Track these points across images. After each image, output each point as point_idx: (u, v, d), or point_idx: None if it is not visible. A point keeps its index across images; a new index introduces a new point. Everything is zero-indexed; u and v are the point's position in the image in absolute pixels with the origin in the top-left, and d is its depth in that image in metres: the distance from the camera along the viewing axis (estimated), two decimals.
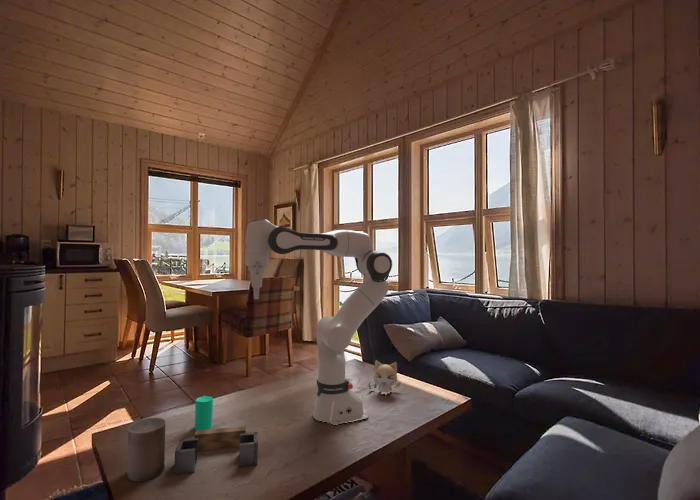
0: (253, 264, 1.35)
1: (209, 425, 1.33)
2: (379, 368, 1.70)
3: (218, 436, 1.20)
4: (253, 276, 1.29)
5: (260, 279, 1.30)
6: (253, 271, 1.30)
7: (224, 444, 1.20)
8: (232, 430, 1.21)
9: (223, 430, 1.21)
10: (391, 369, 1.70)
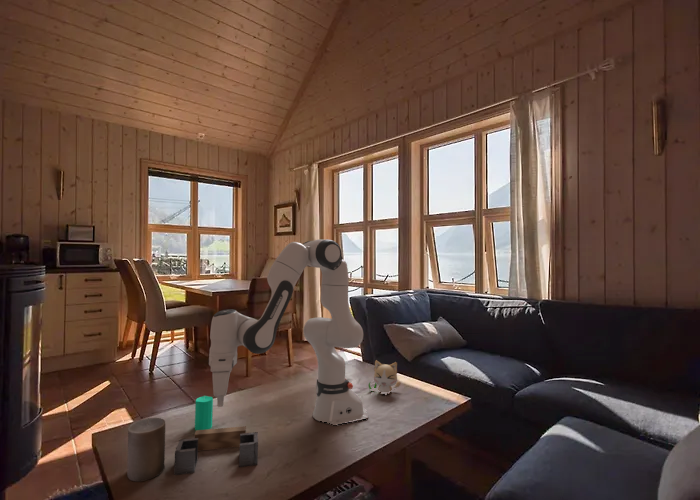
0: None
1: (209, 425, 1.33)
2: (379, 368, 1.70)
3: (218, 436, 1.20)
4: None
5: None
6: None
7: (224, 444, 1.20)
8: (232, 430, 1.21)
9: (223, 430, 1.21)
10: (391, 369, 1.70)
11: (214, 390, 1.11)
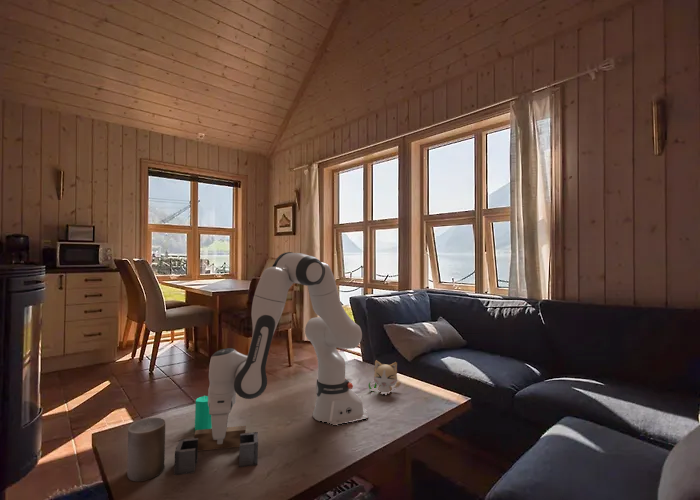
0: None
1: (209, 425, 1.33)
2: (379, 368, 1.70)
3: None
4: None
5: None
6: None
7: (223, 443, 1.20)
8: (232, 430, 1.21)
9: None
10: (391, 369, 1.70)
11: (213, 433, 1.11)
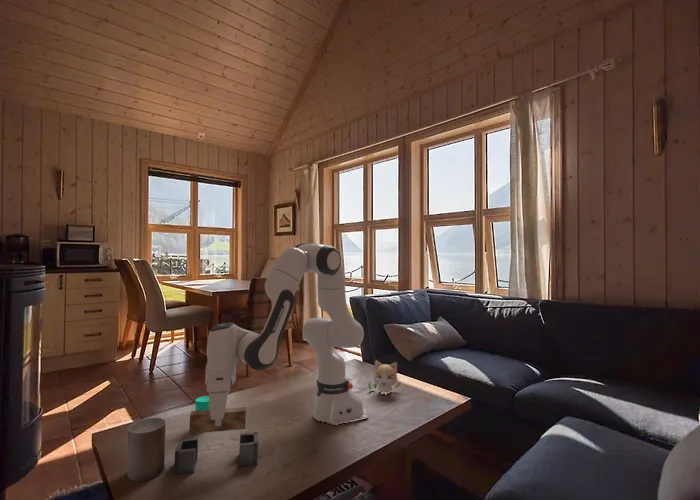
0: None
1: None
2: (379, 368, 1.70)
3: None
4: None
5: None
6: None
7: (222, 425, 1.10)
8: (231, 411, 1.12)
9: None
10: (391, 369, 1.70)
11: (211, 413, 1.02)
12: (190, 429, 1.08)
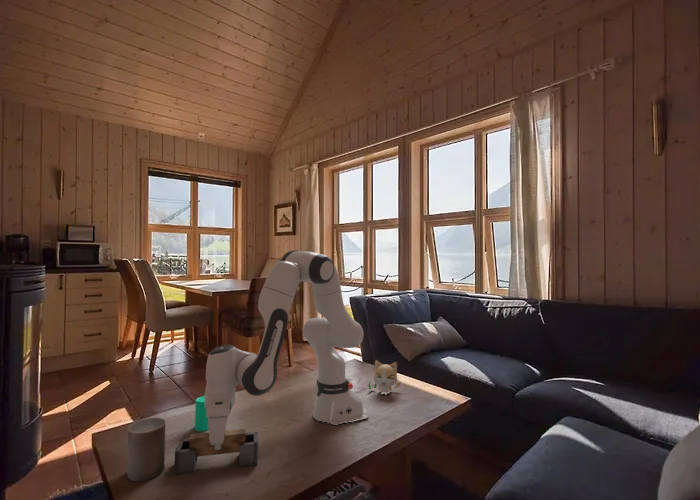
0: None
1: None
2: (379, 368, 1.70)
3: None
4: None
5: None
6: None
7: (221, 448, 1.10)
8: (231, 434, 1.12)
9: None
10: (391, 369, 1.70)
11: (210, 438, 1.02)
12: None
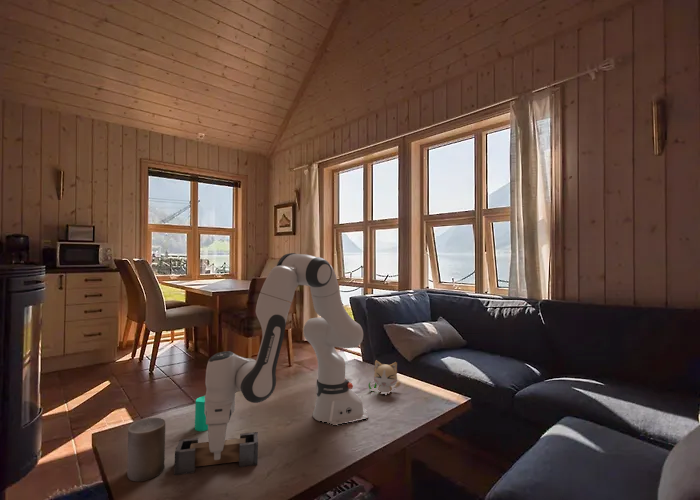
0: None
1: None
2: (379, 368, 1.70)
3: None
4: None
5: None
6: None
7: (221, 458, 1.11)
8: (231, 443, 1.12)
9: None
10: (391, 369, 1.70)
11: (210, 445, 1.02)
12: None
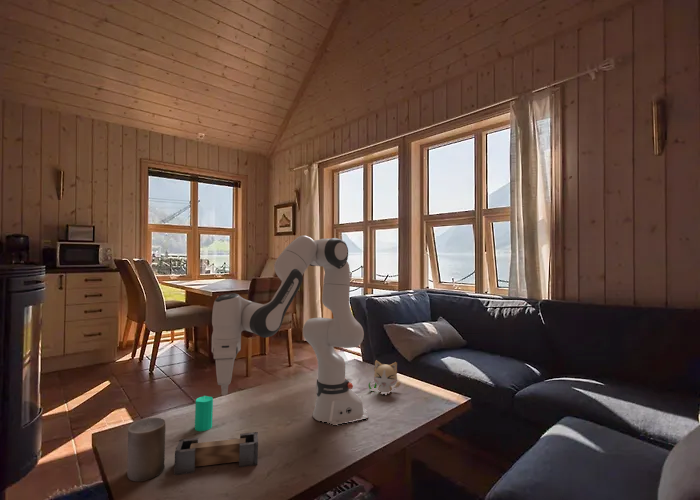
0: None
1: (209, 425, 1.33)
2: (379, 368, 1.70)
3: (216, 450, 1.10)
4: None
5: None
6: None
7: (221, 458, 1.11)
8: (231, 443, 1.12)
9: (221, 443, 1.12)
10: (391, 369, 1.70)
11: (218, 378, 1.05)
12: None
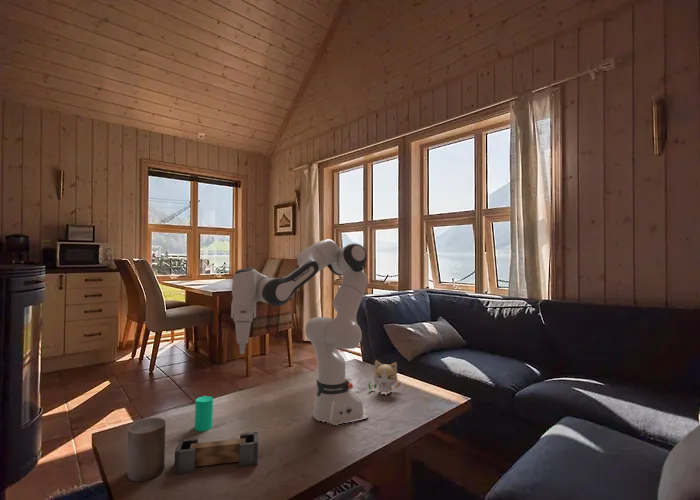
0: None
1: (209, 425, 1.33)
2: (379, 368, 1.70)
3: (216, 450, 1.10)
4: None
5: None
6: None
7: (221, 458, 1.11)
8: (231, 443, 1.12)
9: (221, 443, 1.12)
10: (391, 369, 1.70)
11: (237, 337, 1.23)
12: None
